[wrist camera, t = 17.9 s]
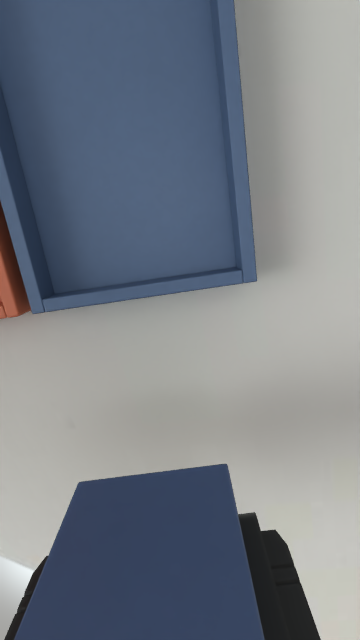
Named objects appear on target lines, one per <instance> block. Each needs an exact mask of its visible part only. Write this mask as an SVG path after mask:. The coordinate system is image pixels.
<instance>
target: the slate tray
mask: <svg viewBox="0 0 360 640" xmlns="http://www.w3.org/2000/svg"><path fill="white" fill-rule="evenodd" d="M0 201H1V204H2V208H3V211H4V215H5V219H6V222H7V226H8V229H9V233H10V236H11V240H12V243H13V247H14V250H15V254H16V257H17V261H18V265H19V268H20V272H21V275H22V279H23V282H24V286H25V289H26V293H27V296H28V300H29V303H30V307H31V310H32V313H33V314H37V313H43V312H50V311H57V310H64V309H70V308H77V307H84V306H91V305H98V304H105V303H111V302H118V301H125V300H132V299H139V298H146V297H152V296H159V295H166V294H173V293H180V292H187V291H194V290H200V289H207V288H214V287H221V286H228V285H235V284H241V283H249V282H256V281H257V274H256V262H255V250H254V238H253V226H252V213H251V201H250V189H249V177H248V165H247V153H246V141H245V129H244V117H243V105H242V93H241V81H240V69H239V57H238V45H237V33H236V21H235V8H234V0H0Z"/></svg>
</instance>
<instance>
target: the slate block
mask: <svg viewBox="0 0 360 640" xmlns="http://www.w3.org/2000/svg"><path fill="white" fill-rule="evenodd" d="M14 640H265V639H264V635H263V630H262V625H261V621H260V616H259V611H258V606H257V602H256V597H255V592H254V588H253V583H252V578H251V573H250V569H249V564H248V559H247V555H246V550H245V545H244V540H243V536H242V531H241V526H240V522H239V517H238V512H237V507H236V503H235V498H234V493H233V489H232V484H231V479H230V474H229V470H228V466H227V464H219V465H211V466H203V467H195V468H187V469H179V470H171V471H163V472H155V473H147V474H139V475H131V476H123V477H115V478H107V479H99V480H91V481H83V482H79V483H78V485H77V488H76V490H75V492H74V495H73V497H72V500H71V502H70V505H69V507H68V509H67V512H66V514H65V517H64V519H63V522H62V524H61V527H60V529H59V531H58V534H57V536H56V539H55V541H54V544H53V546H52V548H51V551H50V553H49V556H48V558H47V561H46V563H45V565H44V568H43V570H42V573H41V575H40V578H39V580H38V583H37V585H36V587H35V590H34V592H33V595H32V597H31V600H30V602H29V604H28V607H27V609H26V612H25V614H24V617H23V619H22V621H21V624H20V626H19V629H18V631H17V634H16V636H15V639H14Z"/></svg>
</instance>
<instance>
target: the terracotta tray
mask: <svg viewBox="0 0 360 640" xmlns="http://www.w3.org/2000/svg"><path fill="white" fill-rule="evenodd" d="M30 310H31V307H30V303H29V300H28V296H27V293H26V289H25V286H24V282H23V279H22V275H21V272H20V268H19V265H18V261H17V257H16V254H15V250H14V247H13V243H12V240H11V236H10V233H9V229H8V226H7V222H6V219H5V215H4V211H3V208H2V204H1V201H0V319H2V318H7V317H16V316H20V315H22V314H24V313H26V312H28V311H30Z"/></svg>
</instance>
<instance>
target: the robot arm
mask: <svg viewBox="0 0 360 640" xmlns="http://www.w3.org/2000/svg"><path fill="white" fill-rule="evenodd" d="M238 517H239V522H240V526H241V531H242V536H243V540H244V545H245V550H246V555H247V559H248V564H249V569H250V573H251V578H252V583H253V588H254V592H255V597H256V602H257V606H258V611H259V616H260V621H261V625H262V630H263V635H264V639H265V640H321V639H320V636H319V634H318V631H317V628H316V625H315V622H314V619H313V617H312V614H311V611H310V608H309V605H308V602H307V600H306V597H305V594H304V591H303V588H302V585H301V583H300V580H299V577H298V574H297V571H296V568H295V567H294V563H293V560H292V557H291V554H290V551H289V549H288V546H287V544H286V543H285V541H284V540H283V539H282V538H281V536H280V535H279V534H278V533H277V531H276V530H268V531H261V530H260V527H259V523H258V520H257V516H256V513H255V512H254V513H245V514H238ZM47 558H48V556H46V557H45V558H44V560H43V561H42V562H41V564H40V565H39V566H38V568H37V569H36V570H35V572H34V573H33V575H32V577H31V579H30V582H29V584H28V586H27V589H26V591H25V595H24V597H23V598H22V600H21V602H20V605H19V607H18V610H17V614H15V616H14V619H13V621H12V623H11V625H10V628H9V630H8V632H7V635H6V637H5V640H14V639H15V636H16V634H17V631H18V629H19V626H20V624H21V621H22V619H23V617H24V614H25V612H26V609H27V607H28V604H29V602H30V600H31V597H32V595H33V592H34V590H35V587H36V585H37V583H38V580H39V578H40V575H41V573H42V570H43V568H44V565H45V563H46V561H47Z"/></svg>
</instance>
